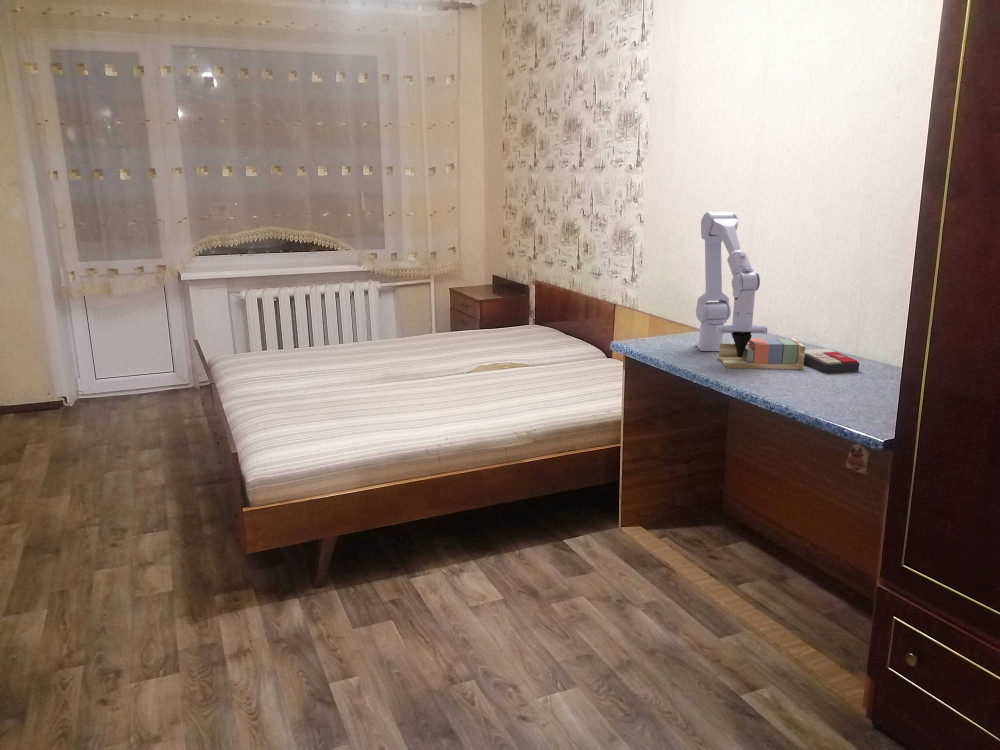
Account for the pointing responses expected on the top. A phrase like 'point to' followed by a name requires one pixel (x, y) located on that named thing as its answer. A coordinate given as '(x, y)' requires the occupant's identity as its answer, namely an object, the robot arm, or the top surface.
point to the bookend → (748, 354)
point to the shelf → (733, 361)
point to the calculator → (830, 361)
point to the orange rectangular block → (760, 350)
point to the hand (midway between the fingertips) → (739, 356)
